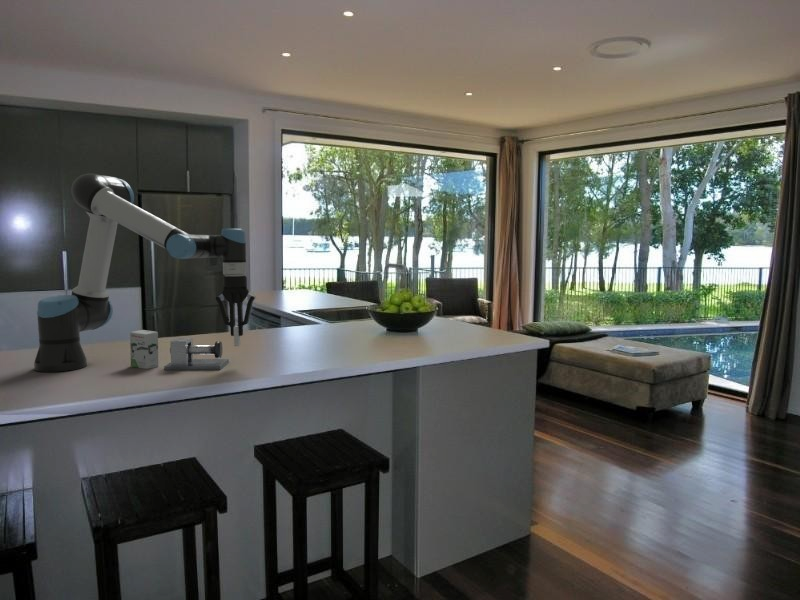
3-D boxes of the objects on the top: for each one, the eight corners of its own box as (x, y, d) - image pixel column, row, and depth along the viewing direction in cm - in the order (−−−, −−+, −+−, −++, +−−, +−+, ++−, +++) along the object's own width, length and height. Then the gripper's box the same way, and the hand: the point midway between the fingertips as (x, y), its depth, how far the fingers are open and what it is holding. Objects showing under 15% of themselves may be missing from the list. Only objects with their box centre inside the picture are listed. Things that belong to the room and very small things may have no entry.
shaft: (168, 359, 198) (168, 343, 197) (174, 356, 204) (173, 340, 203) (218, 359, 199) (218, 342, 198) (222, 356, 204) (222, 340, 204)
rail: (164, 370, 195) (163, 342, 194) (175, 362, 207) (175, 336, 206) (220, 369, 196) (219, 342, 195) (228, 362, 208) (228, 336, 207)
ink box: (129, 366, 200) (128, 331, 199) (142, 363, 205) (141, 329, 204) (146, 369, 196) (145, 333, 195) (159, 366, 201) (158, 331, 199)
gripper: (212, 276, 195) (214, 347, 197) (252, 275, 196) (254, 347, 198) (217, 274, 203) (220, 344, 205) (256, 274, 203) (258, 343, 206)
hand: (237, 345), depth 201 cm, fingers closed
